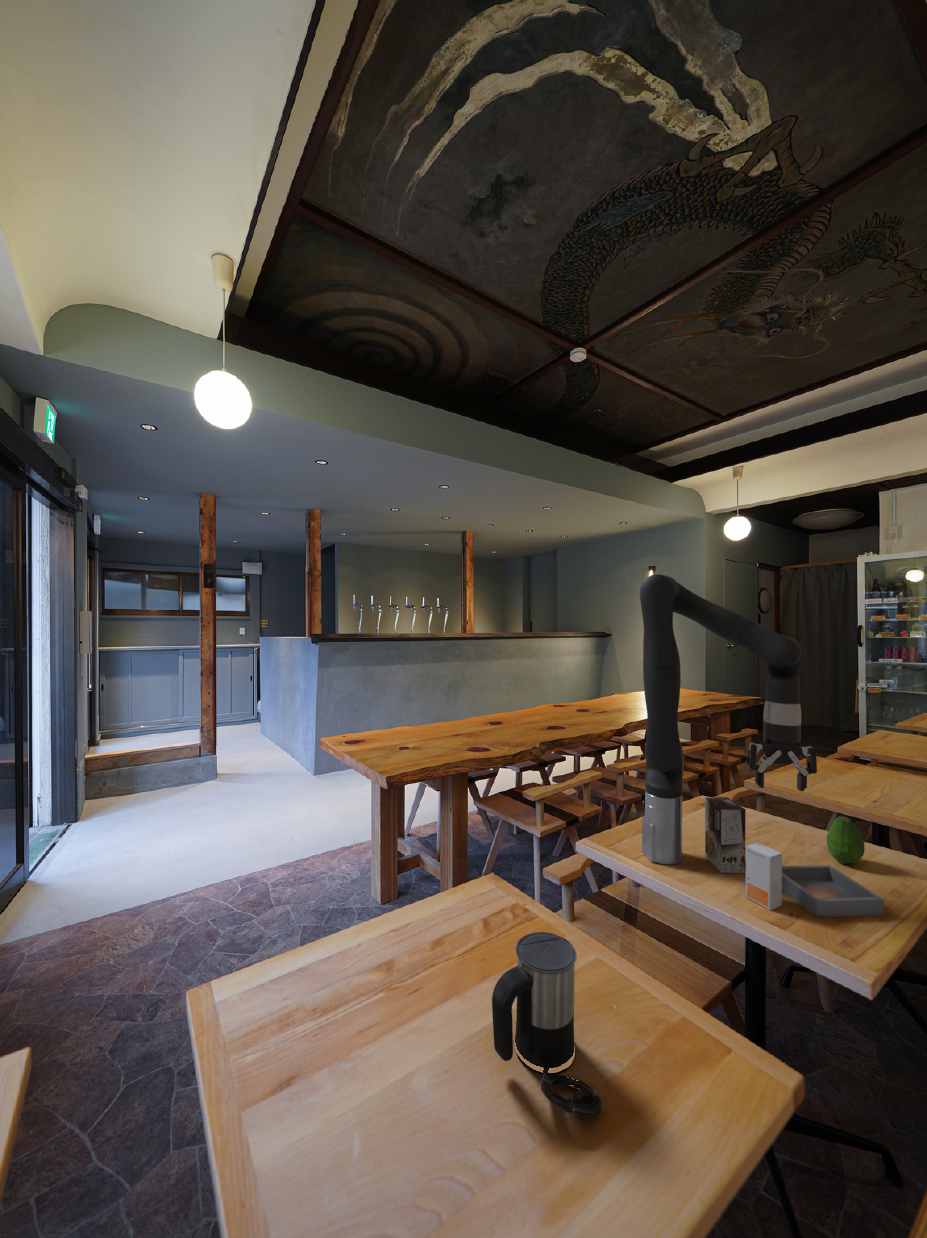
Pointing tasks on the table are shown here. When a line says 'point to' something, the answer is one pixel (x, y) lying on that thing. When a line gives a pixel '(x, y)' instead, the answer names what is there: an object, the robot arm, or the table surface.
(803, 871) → the shallow gray box
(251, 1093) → the table surface
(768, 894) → the skincare box
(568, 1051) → the milk frother
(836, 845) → the avocado
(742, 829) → the coffee box
